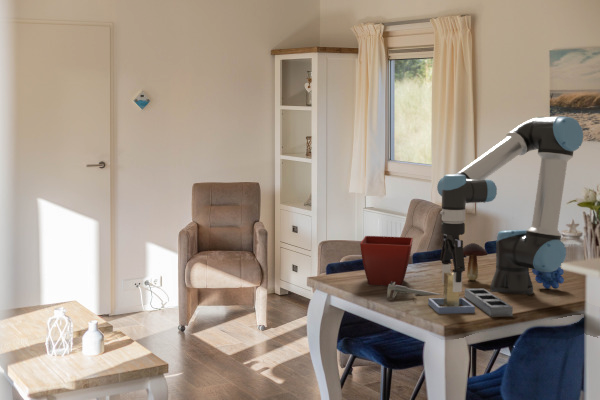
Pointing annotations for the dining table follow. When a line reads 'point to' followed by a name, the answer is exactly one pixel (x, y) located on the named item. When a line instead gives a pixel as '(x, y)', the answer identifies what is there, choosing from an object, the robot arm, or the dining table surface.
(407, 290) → the caliper
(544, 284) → the grapes
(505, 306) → the socket rail
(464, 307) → the tray
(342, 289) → the dining table surface
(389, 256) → the plant pot
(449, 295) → the brass peg
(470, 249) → the decorative mushroom
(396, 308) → the dining table surface
